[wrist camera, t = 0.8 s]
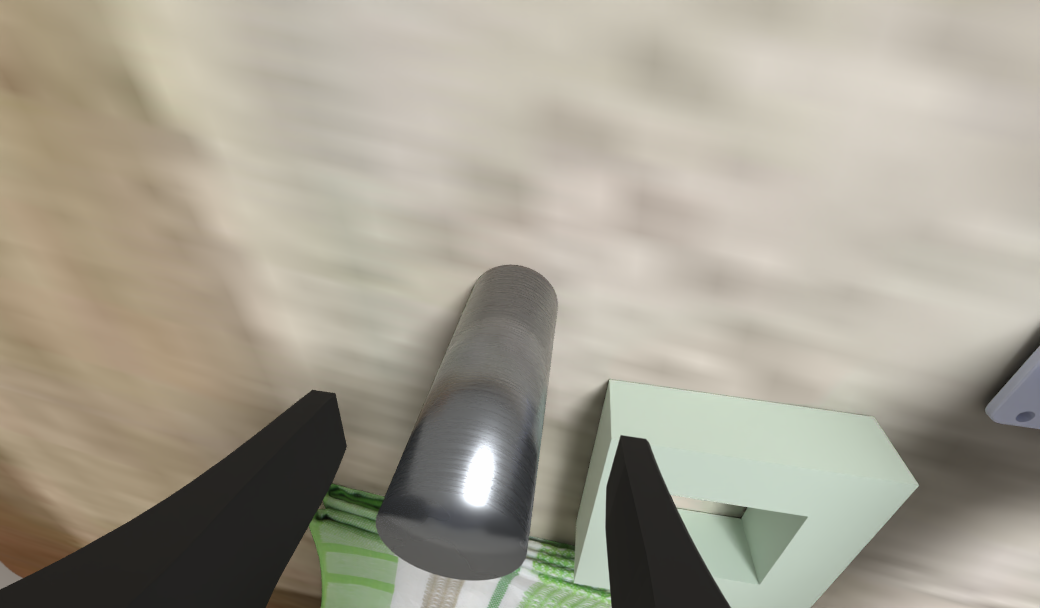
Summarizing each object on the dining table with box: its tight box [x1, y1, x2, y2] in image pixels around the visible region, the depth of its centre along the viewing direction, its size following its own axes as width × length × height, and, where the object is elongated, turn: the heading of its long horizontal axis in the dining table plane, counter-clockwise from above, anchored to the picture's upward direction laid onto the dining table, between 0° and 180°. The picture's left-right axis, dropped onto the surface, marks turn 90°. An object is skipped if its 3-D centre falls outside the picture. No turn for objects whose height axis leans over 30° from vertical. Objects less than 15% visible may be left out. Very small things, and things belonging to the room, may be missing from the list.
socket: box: [574, 379, 919, 608], centre depth 20 cm, size 10×10×3 cm
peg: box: [376, 265, 558, 581], centre depth 13 cm, size 3×3×9 cm
